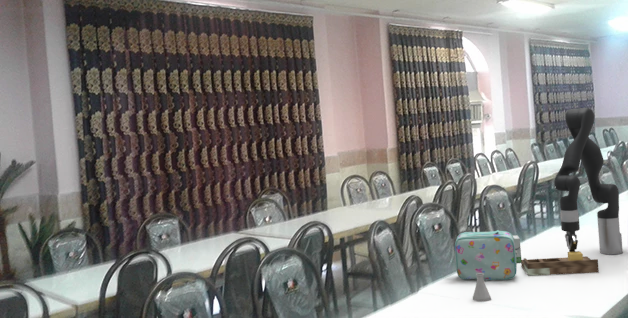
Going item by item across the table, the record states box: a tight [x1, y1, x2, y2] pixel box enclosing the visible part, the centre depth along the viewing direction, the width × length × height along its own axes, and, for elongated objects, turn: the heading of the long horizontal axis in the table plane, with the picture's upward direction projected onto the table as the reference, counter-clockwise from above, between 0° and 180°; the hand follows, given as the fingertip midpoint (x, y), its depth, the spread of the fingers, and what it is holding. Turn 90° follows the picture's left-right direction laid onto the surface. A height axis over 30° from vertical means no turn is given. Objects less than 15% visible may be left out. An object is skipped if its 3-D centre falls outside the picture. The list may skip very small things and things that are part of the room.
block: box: [567, 250, 584, 261], centre depth 261 cm, size 5×5×5 cm
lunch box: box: [454, 229, 519, 281], centre depth 263 cm, size 27×10×21 cm, turn 71°
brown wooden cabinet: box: [520, 256, 599, 277], centre depth 267 cm, size 29×17×6 cm, turn 80°
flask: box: [472, 273, 492, 302], centre depth 235 cm, size 7×7×10 cm
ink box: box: [512, 234, 522, 264], centre depth 288 cm, size 9×5×12 cm, turn 168°
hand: (572, 257), depth 266 cm, fingers closed
